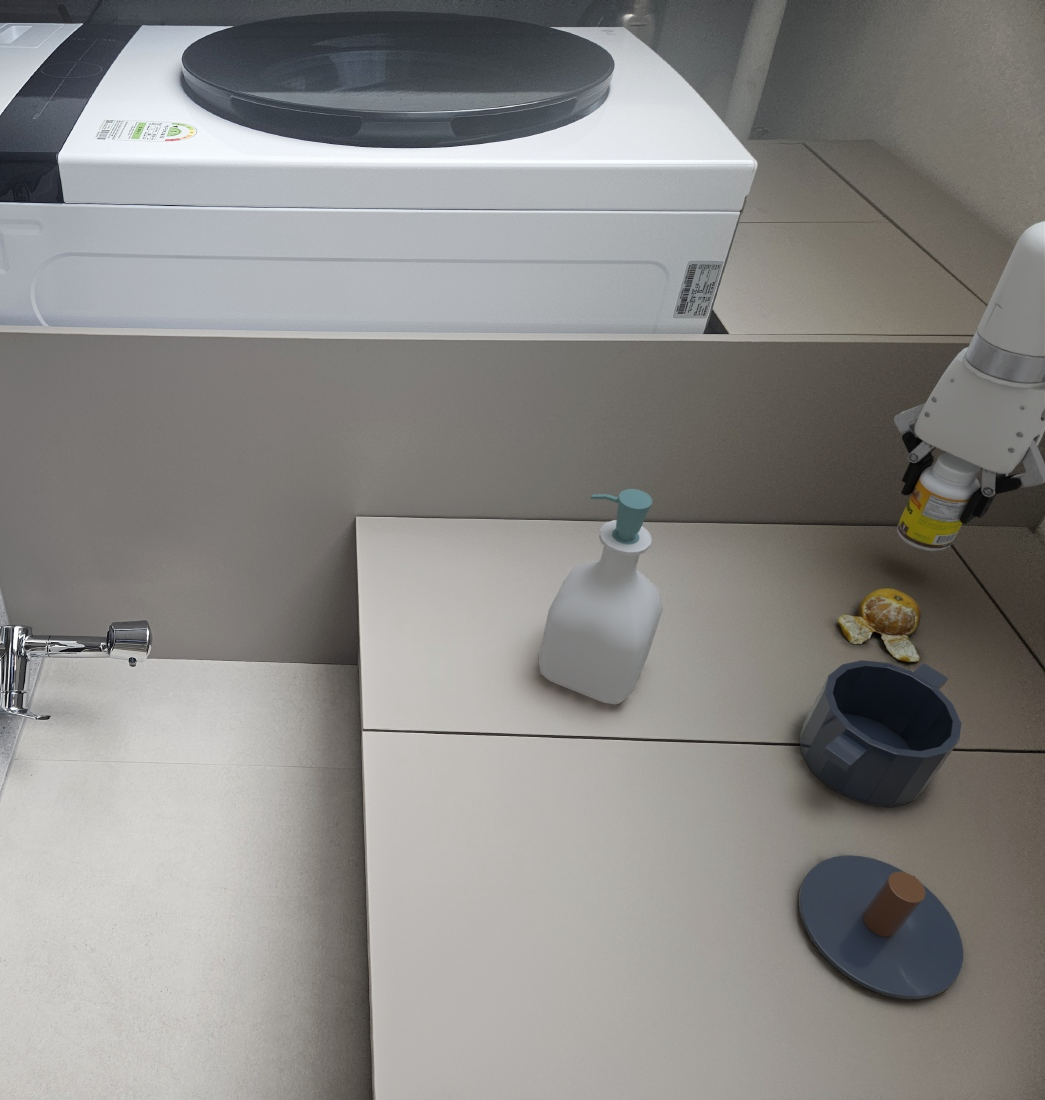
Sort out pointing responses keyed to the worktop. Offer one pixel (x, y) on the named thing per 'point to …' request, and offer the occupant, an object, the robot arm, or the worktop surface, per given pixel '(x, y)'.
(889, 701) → the pot
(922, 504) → the supplement bottle
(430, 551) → the worktop surface
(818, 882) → the lid
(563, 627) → the soap bottle
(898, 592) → the fruit
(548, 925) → the worktop surface
